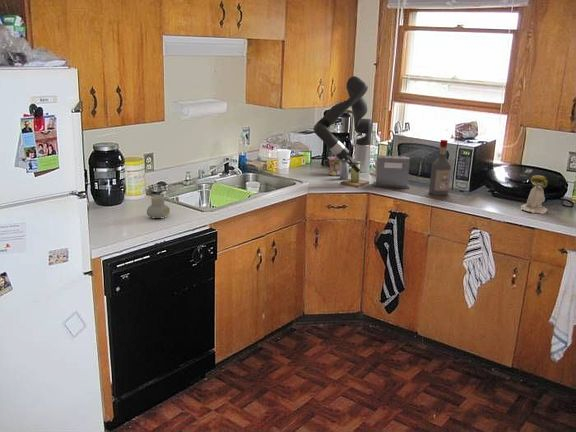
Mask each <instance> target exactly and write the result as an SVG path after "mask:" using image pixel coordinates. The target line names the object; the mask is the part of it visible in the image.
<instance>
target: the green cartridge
mask: <svg viewBox="0 0 576 432" xmlns="http://www.w3.org/2000/svg"><path fill="white" fill-rule="evenodd" d="M353 161H354V164H355V165H356V166H357V167H358V168H359V169H360V161H355V160H353ZM354 164H352V166H353V165H354ZM360 173H361V172H360V171H359V172H358V173H357V172H356V171H355V170H354V169H353V168H352V167H351V166H350V179H351V182H353V183H358V182H359V180H360Z"/></svg>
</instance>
